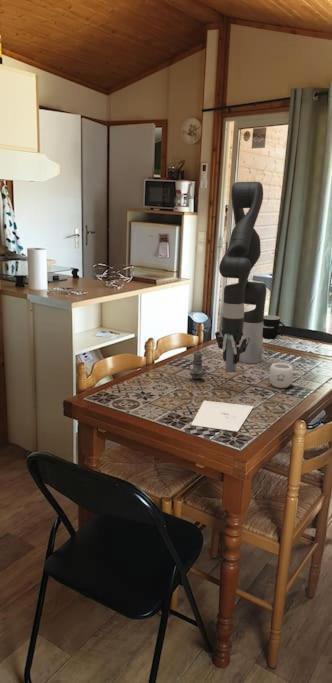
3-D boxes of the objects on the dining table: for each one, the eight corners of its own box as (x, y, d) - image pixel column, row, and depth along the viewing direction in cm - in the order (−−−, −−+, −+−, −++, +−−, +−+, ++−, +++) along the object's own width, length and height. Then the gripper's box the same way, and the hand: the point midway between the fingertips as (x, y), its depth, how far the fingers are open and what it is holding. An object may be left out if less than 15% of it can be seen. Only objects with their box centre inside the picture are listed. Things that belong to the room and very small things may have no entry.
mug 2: (266, 388, 195) (268, 367, 193) (270, 380, 203) (272, 360, 201) (300, 392, 192) (302, 371, 190) (303, 385, 199) (304, 364, 197)
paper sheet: (234, 437, 156) (234, 434, 156) (146, 420, 169) (146, 417, 169) (258, 409, 177) (258, 406, 176) (178, 396, 189) (178, 393, 189)
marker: (229, 368, 195) (230, 331, 191) (237, 370, 192) (239, 333, 188) (223, 370, 192) (224, 333, 188) (231, 373, 189) (233, 335, 185)
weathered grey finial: (203, 383, 199) (204, 352, 195) (187, 382, 200) (188, 351, 197) (205, 378, 204) (206, 348, 201) (190, 377, 205) (191, 346, 202)
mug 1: (257, 338, 262) (258, 317, 259) (263, 334, 270) (264, 314, 267) (281, 341, 257) (282, 321, 254) (286, 337, 264) (288, 317, 262)
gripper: (256, 316, 184) (253, 364, 189) (223, 310, 193) (221, 355, 198) (243, 320, 179) (241, 369, 184) (210, 313, 188) (208, 360, 193)
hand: (230, 361), depth 191 cm, fingers closed on marker, 3 cm apart
